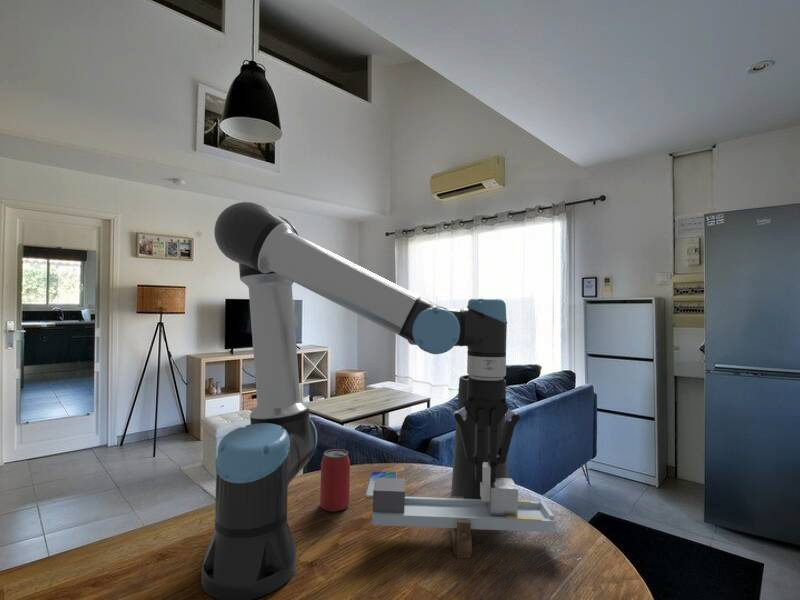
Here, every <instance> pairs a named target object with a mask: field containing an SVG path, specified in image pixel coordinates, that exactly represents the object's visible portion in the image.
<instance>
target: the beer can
mask: <svg viewBox="0 0 800 600" xmlns="http://www.w3.org/2000/svg"><path fill="white" fill-rule="evenodd" d="M350 480H351V459H350V457H349V451H347V450H346V449H341V448H333V449H328V450H325V451H324V452H323V456H322V459H321V462H320V490H319V493H320V494H319V500H320V501H319V505H320V507H321V508H322V509H323V510H325V511H327V512H332V513H334V512H341V511H343V510H345V509H347V507H348V506H349V504H350V493H351V491H350V484H351V481H350Z"/></svg>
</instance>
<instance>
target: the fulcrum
mask: <svg viewBox="0 0 800 600" xmlns="http://www.w3.org/2000/svg"><path fill="white" fill-rule="evenodd" d="M452 498H459V499H464V497H462V496H452ZM449 534H450V538H451V544H452V549H453V550H452V551H453V555H455V556H456V559H471V556H472V555H473V554H472V553H473V549H472V548H473V532H472V529H471V522H470V520H457V528H449Z"/></svg>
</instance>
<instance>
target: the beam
mask: <svg viewBox="0 0 800 600" xmlns="http://www.w3.org/2000/svg"><path fill="white" fill-rule="evenodd" d="M371 519H372V520H371V525H372V526H383V527H385V526H387V527H410V528H411V527H413V528H414V527H415V528H438V529H439V528H440V529H450V528H457V520H470V522H471V530H487V531H489V530H491V531H512V532H513V531H515V532H539V533H541V532H543V533H544V532H545V533H556V524H557V523H556V520H555V515H554V513H552V511H551V509H550V508H549V507H548V505H547V503H546V502H545V501H544V500H541V499H539V500H538V501H533V500H532V501H531V500H530V499H518V515H517V517H514V516H506V517H489V514H488V512H487V509H486V502H484V501H482V499H459V498H450V497H431V496H430V497H429V496H427V497H426V496H424V497H423V496H422V497H421V496H406V478H399V477H397V478H376V479H375V484H374V489H373V498H372V514H371Z"/></svg>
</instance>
